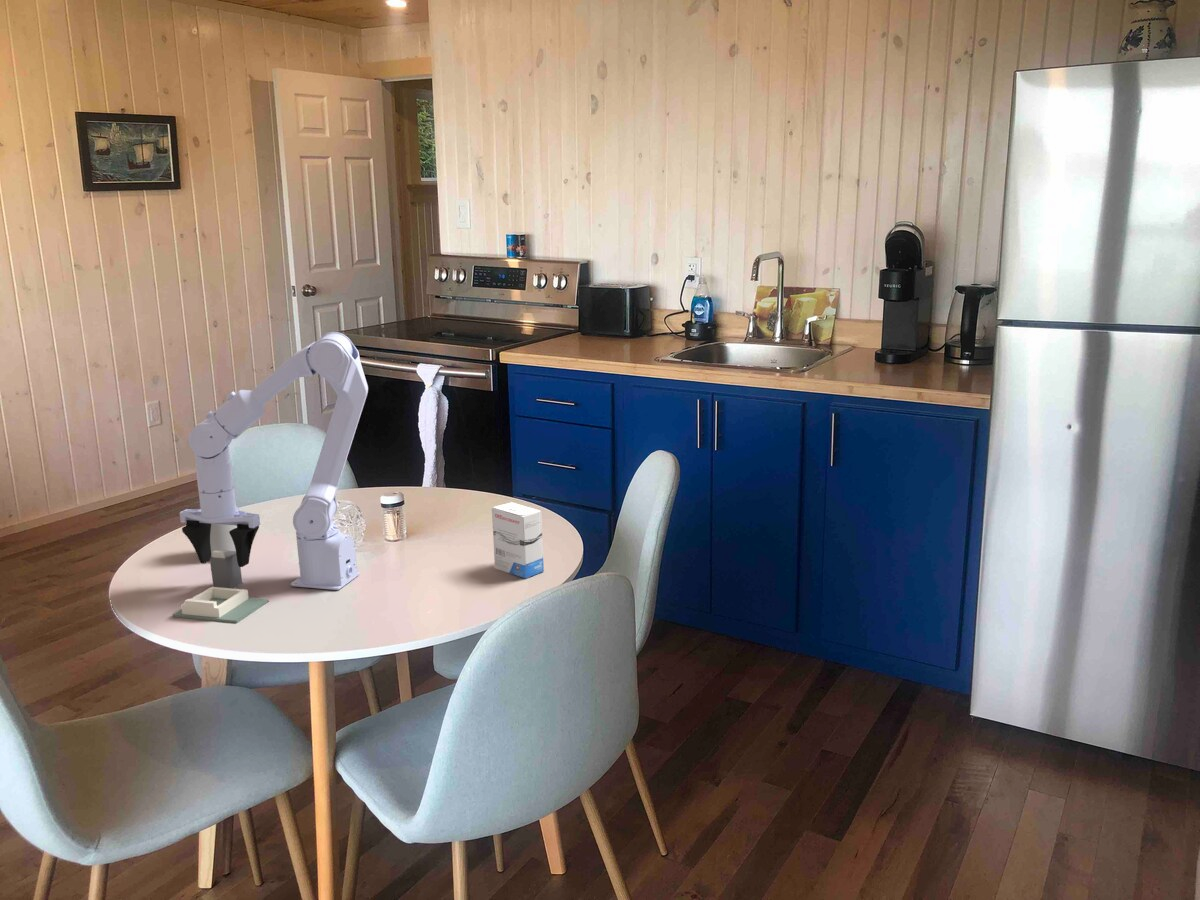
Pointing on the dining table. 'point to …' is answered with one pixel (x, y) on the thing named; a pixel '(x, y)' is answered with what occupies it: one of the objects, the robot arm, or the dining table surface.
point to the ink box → (518, 539)
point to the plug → (225, 569)
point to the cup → (221, 537)
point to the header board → (220, 605)
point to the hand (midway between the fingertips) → (224, 563)
